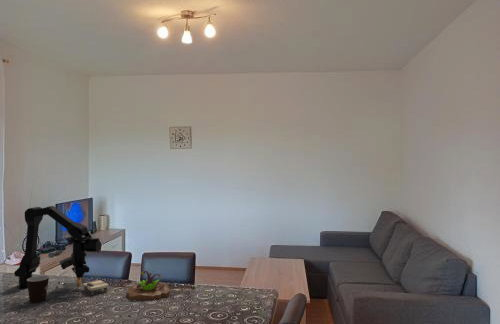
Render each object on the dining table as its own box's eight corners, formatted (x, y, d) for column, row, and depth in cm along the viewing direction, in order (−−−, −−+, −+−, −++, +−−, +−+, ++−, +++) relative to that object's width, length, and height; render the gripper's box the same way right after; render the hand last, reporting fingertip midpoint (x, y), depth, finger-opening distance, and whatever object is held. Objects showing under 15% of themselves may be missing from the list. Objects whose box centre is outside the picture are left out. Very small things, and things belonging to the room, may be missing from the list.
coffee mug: (38, 305, 159) (38, 282, 159) (21, 303, 160) (22, 280, 161) (57, 295, 170) (58, 274, 170) (41, 294, 172) (42, 273, 172)
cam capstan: (51, 292, 173) (51, 281, 173) (54, 288, 179) (54, 277, 179) (80, 290, 176) (80, 279, 176) (82, 286, 182) (82, 275, 182)
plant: (127, 289, 180) (127, 266, 180) (167, 285, 186) (167, 263, 186) (125, 304, 161) (125, 278, 161) (171, 299, 167) (171, 274, 167)
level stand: (69, 290, 177) (69, 280, 177) (95, 284, 186) (95, 275, 186) (80, 298, 166) (80, 287, 166) (108, 291, 175) (108, 281, 175)
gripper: (58, 249, 184) (58, 279, 184) (63, 258, 169) (63, 292, 169) (82, 246, 190) (81, 275, 191) (89, 255, 175) (89, 287, 176)
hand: (78, 282), depth 181 cm, fingers closed
